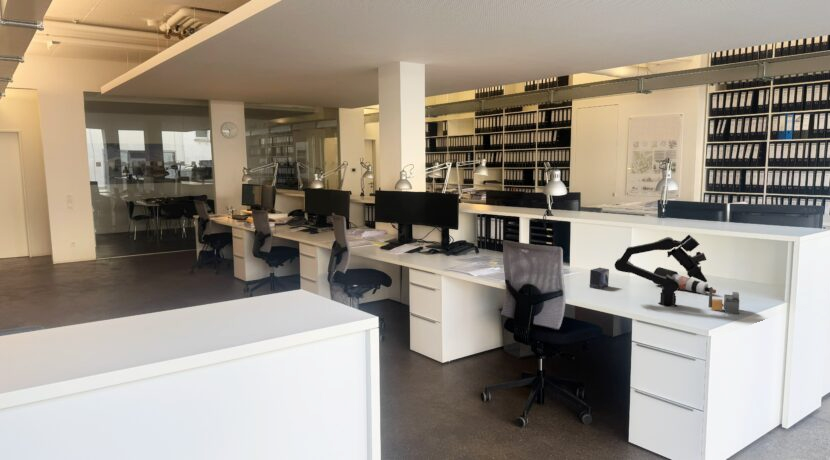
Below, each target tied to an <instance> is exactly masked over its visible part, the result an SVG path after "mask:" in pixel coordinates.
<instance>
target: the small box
mask: <svg viewBox="0 0 830 460" xmlns="http://www.w3.org/2000/svg"><path fill="white" fill-rule="evenodd" d="M609 273H610V269H609V268H606V267H605V268H604V267H596V268H591V269H590V271H589V288H592V289H598V290H600V289H603V288H607V287H609V277H610V275H609Z"/></svg>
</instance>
